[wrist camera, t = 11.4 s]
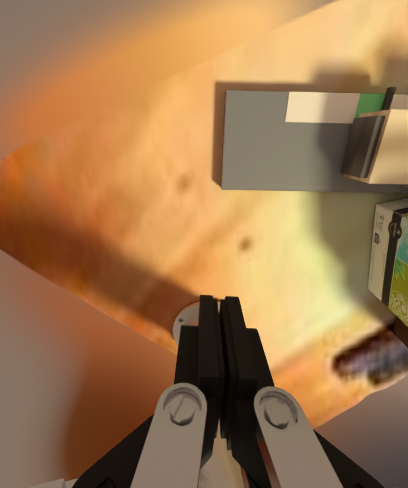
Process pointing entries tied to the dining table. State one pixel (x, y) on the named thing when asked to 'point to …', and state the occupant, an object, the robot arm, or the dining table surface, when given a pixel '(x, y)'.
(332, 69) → the dining table surface
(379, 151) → the block
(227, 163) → the base
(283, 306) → the dining table surface
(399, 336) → the olive oil
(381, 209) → the tea box
